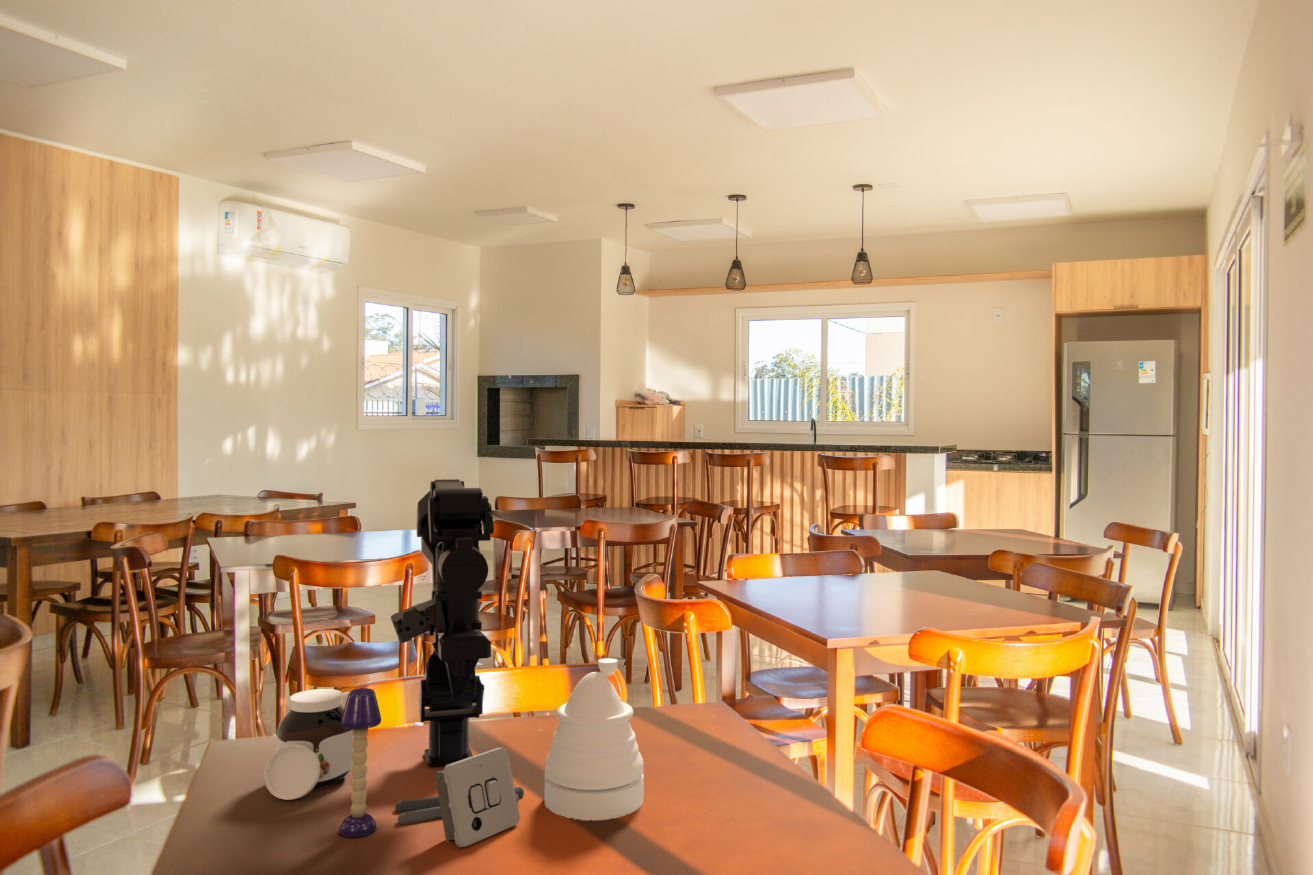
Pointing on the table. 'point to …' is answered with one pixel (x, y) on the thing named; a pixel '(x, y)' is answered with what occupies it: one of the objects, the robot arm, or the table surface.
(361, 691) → the toy lamp
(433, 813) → the cord
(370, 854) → the table surface
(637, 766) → the honey pot
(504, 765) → the electrical switch
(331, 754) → the spread jar
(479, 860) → the table surface
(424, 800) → the cord
